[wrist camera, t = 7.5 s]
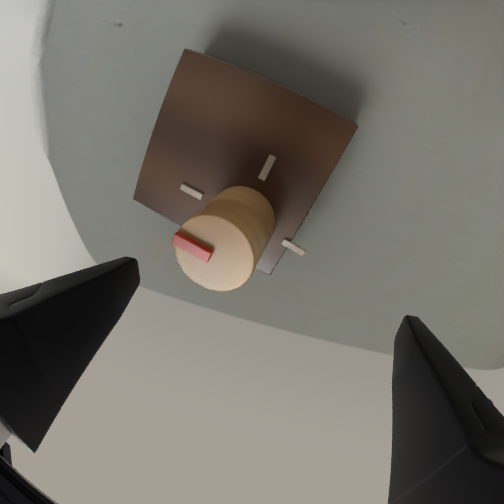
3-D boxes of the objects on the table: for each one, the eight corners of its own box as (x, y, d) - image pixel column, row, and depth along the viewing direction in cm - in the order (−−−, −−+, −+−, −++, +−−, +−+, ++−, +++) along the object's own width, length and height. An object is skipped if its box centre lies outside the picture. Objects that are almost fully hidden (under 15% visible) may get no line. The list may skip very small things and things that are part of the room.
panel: (280, 279, 21) (272, 301, 19) (147, 205, 22) (126, 218, 19) (370, 132, 16) (376, 137, 13) (203, 53, 16) (183, 47, 13)
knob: (287, 206, 16) (267, 245, 12) (258, 259, 18) (233, 308, 14) (224, 174, 16) (184, 201, 12) (202, 229, 18) (162, 270, 14)
